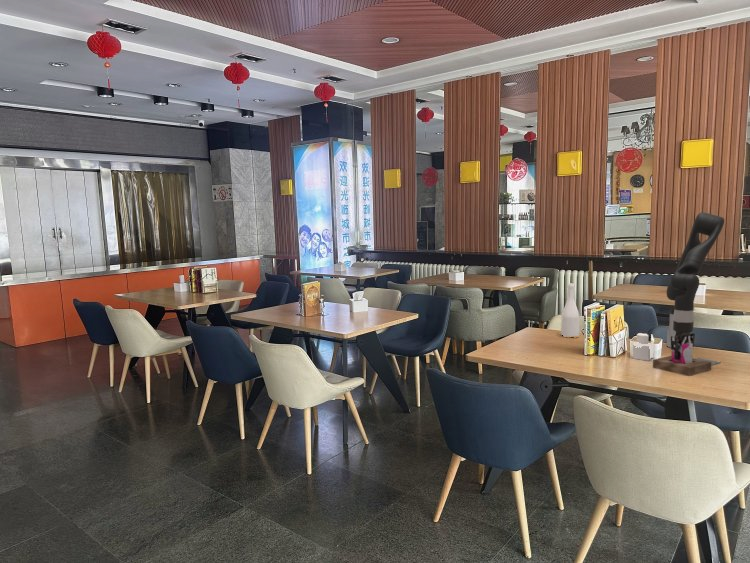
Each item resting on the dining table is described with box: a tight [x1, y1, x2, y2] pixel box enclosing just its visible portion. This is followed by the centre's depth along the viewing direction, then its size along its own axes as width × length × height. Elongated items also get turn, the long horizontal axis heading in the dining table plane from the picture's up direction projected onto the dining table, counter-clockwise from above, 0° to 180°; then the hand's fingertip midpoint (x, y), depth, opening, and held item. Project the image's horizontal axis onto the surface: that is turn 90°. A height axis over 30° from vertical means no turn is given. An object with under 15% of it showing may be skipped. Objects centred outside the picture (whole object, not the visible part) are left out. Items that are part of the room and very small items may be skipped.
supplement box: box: [671, 343, 694, 364], centre depth 231 cm, size 6×6×12 cm
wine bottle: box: [560, 282, 581, 337], centre depth 299 cm, size 10×10×30 cm
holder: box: [652, 354, 712, 377], centre depth 231 cm, size 16×16×4 cm
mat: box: [694, 357, 722, 366], centre depth 241 cm, size 10×10×1 cm
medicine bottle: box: [632, 332, 652, 362], centre depth 250 cm, size 7×7×12 cm
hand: (682, 358), depth 231 cm, fingers closed on supplement box, 6 cm apart
